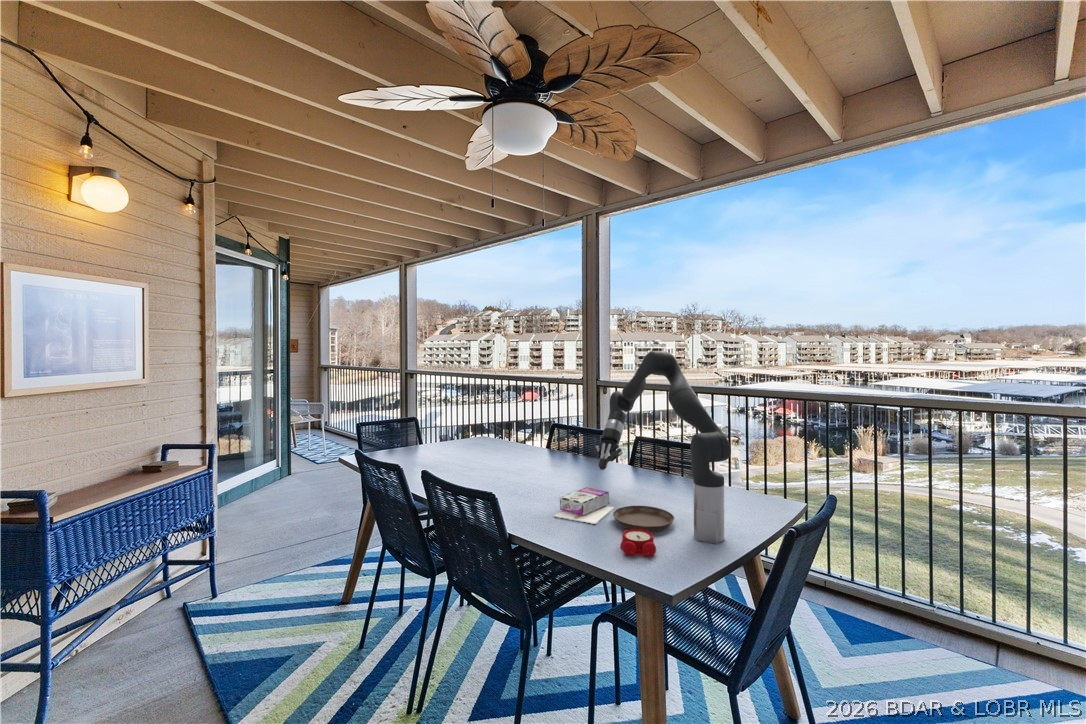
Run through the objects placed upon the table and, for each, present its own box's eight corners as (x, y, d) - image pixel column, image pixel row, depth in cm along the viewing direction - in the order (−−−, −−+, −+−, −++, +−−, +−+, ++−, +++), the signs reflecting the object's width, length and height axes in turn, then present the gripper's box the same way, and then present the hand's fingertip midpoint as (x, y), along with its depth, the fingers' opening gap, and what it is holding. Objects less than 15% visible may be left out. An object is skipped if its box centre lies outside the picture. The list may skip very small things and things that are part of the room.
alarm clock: (652, 528, 148) (658, 536, 133) (653, 549, 147) (659, 560, 132) (619, 527, 149) (621, 535, 134) (619, 548, 148) (622, 558, 133)
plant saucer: (648, 510, 175) (648, 501, 175) (687, 528, 156) (687, 519, 156) (601, 519, 166) (601, 510, 166) (637, 540, 148) (637, 530, 147)
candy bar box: (587, 499, 186) (559, 510, 174) (586, 486, 186) (558, 496, 174) (610, 504, 178) (582, 516, 167) (609, 491, 178) (582, 502, 167)
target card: (595, 525, 160) (595, 523, 160) (554, 517, 168) (554, 515, 168) (614, 508, 176) (614, 507, 176) (575, 502, 184) (575, 500, 184)
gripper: (595, 426, 195) (583, 461, 185) (625, 428, 189) (615, 465, 178) (600, 436, 200) (589, 471, 190) (630, 439, 194) (620, 475, 183)
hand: (601, 468), depth 184 cm, fingers closed
